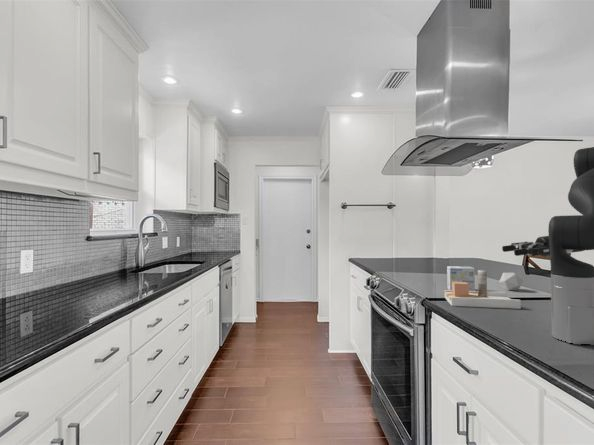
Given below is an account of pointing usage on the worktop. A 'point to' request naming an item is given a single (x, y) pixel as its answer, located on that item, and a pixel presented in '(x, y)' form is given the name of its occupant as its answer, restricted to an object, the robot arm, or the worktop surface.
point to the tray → (486, 301)
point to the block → (460, 289)
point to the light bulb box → (461, 276)
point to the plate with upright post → (481, 287)
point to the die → (510, 281)
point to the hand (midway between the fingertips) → (508, 250)
